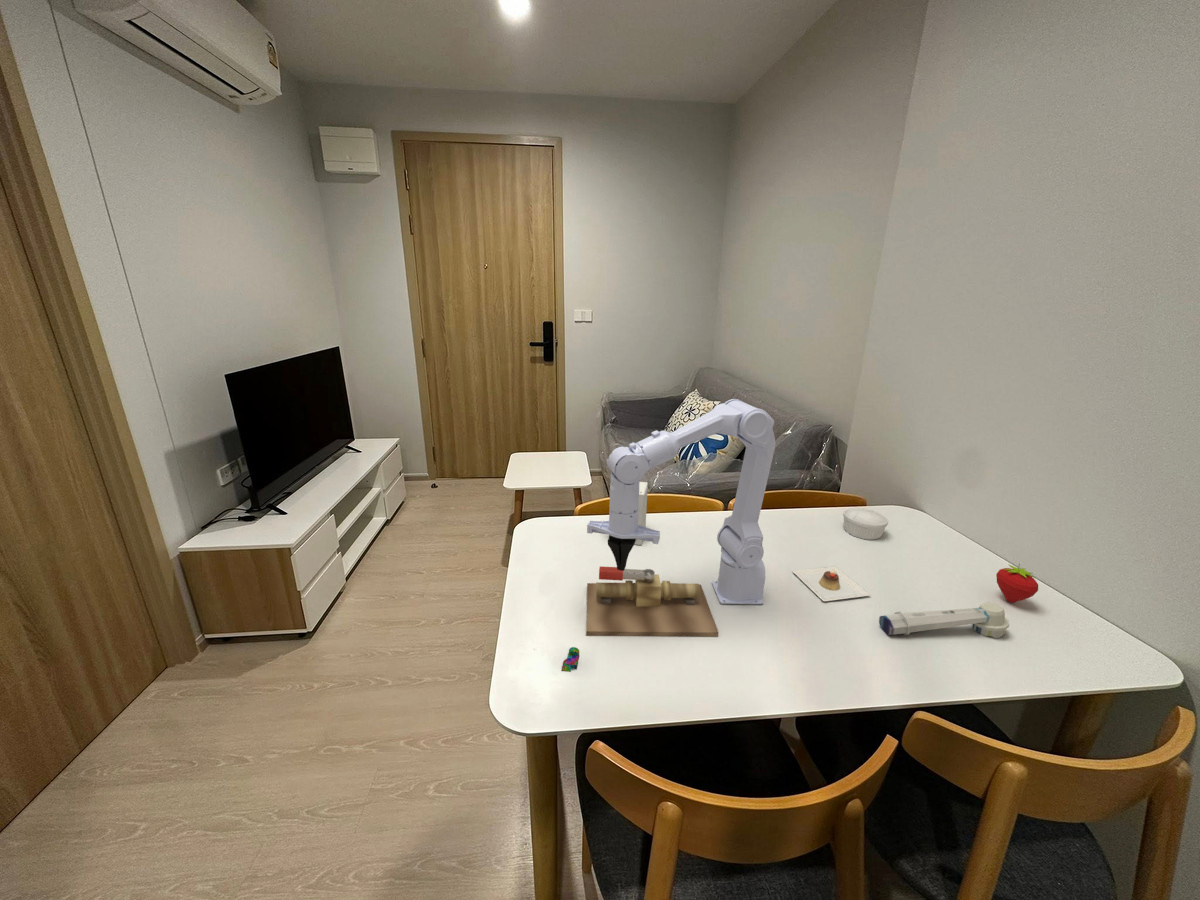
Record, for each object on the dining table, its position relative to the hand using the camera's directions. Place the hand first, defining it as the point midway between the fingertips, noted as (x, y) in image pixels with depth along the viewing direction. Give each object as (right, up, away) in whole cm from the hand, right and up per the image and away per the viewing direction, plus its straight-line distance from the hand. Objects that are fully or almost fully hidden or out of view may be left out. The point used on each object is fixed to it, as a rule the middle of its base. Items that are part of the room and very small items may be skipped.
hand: (621, 567), depth 97 cm
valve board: (+6, -10, +3) cm, 12 cm away
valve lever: (+1, -3, +3) cm, 5 cm away
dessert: (+49, -8, +14) cm, 52 cm away
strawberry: (+88, -10, +9) cm, 89 cm away
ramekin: (+71, 0, +39) cm, 81 cm away
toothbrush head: (+65, -13, -1) cm, 67 cm away
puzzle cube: (-9, -15, -11) cm, 21 cm away
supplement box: (+3, 0, +34) cm, 34 cm away
